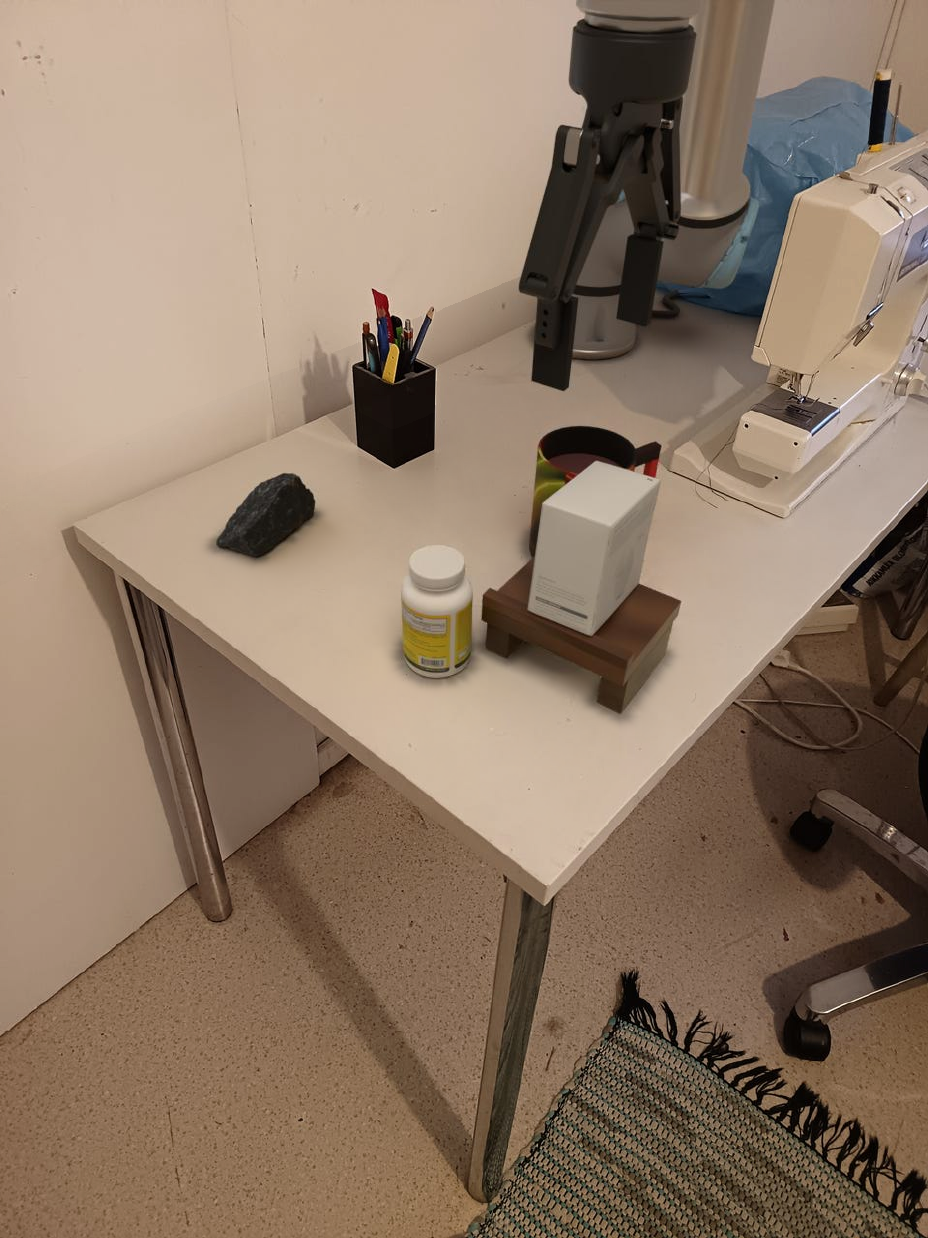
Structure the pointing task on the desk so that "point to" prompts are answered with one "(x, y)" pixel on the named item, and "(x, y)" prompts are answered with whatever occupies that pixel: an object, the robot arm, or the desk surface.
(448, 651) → the pill bottle
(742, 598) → the desk surface
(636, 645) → the shelf
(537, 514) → the mug
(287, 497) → the rock
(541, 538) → the cosmetics box
